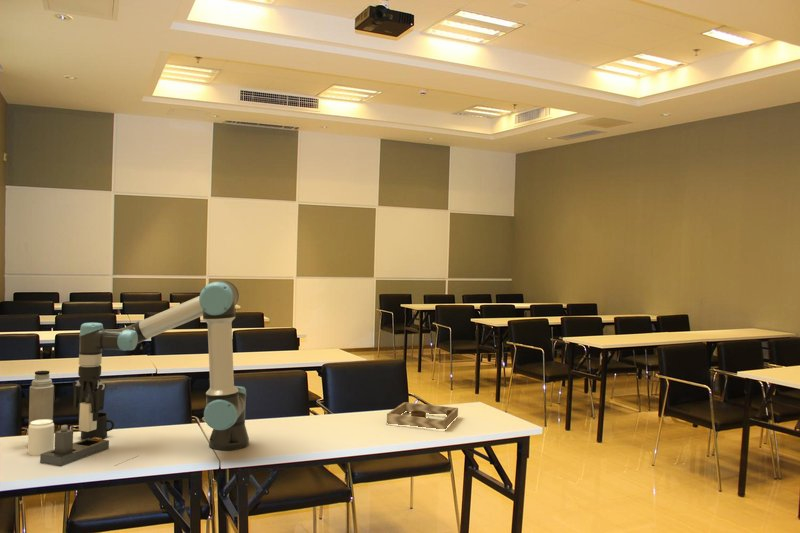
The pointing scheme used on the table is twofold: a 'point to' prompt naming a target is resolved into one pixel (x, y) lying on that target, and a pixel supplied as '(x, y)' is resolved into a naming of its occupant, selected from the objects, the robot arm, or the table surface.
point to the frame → (399, 419)
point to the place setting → (424, 413)
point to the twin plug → (63, 441)
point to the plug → (85, 415)
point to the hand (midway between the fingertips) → (87, 428)
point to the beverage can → (40, 436)
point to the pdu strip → (75, 452)
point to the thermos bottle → (41, 397)
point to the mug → (99, 427)
